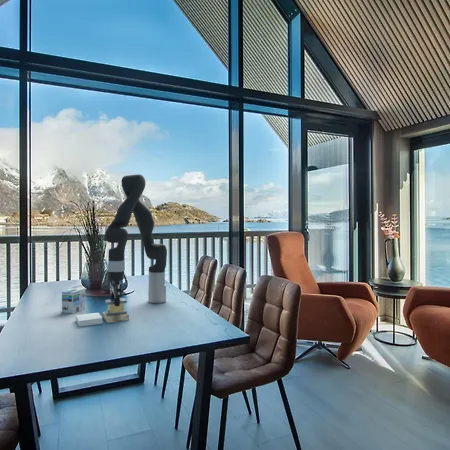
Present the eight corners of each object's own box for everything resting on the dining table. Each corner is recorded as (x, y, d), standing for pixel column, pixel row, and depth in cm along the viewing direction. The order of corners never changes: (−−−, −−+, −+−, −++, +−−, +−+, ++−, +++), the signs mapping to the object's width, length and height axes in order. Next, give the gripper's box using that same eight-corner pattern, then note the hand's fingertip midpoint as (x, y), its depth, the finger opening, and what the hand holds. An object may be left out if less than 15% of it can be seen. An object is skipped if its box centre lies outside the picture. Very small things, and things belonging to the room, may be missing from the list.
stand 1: (98, 317, 170) (98, 312, 170) (102, 323, 161) (102, 318, 161) (76, 320, 165) (76, 315, 165) (78, 326, 156) (78, 320, 156)
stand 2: (123, 314, 175) (123, 309, 175) (128, 320, 167) (128, 314, 167) (102, 317, 171) (102, 312, 171) (106, 322, 162) (107, 317, 162)
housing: (123, 310, 173) (124, 297, 173) (126, 313, 168) (126, 300, 168) (104, 313, 169) (105, 299, 169) (107, 316, 164) (107, 302, 164)
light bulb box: (73, 313, 176) (73, 292, 176) (61, 312, 177) (61, 291, 177) (85, 308, 186) (85, 287, 186) (74, 307, 188) (74, 287, 187)
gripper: (127, 271, 164) (126, 306, 164) (120, 267, 176) (119, 300, 176) (110, 272, 160) (110, 308, 160) (104, 268, 172) (104, 301, 173)
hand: (115, 304), depth 168 cm, fingers open, 8 cm apart
